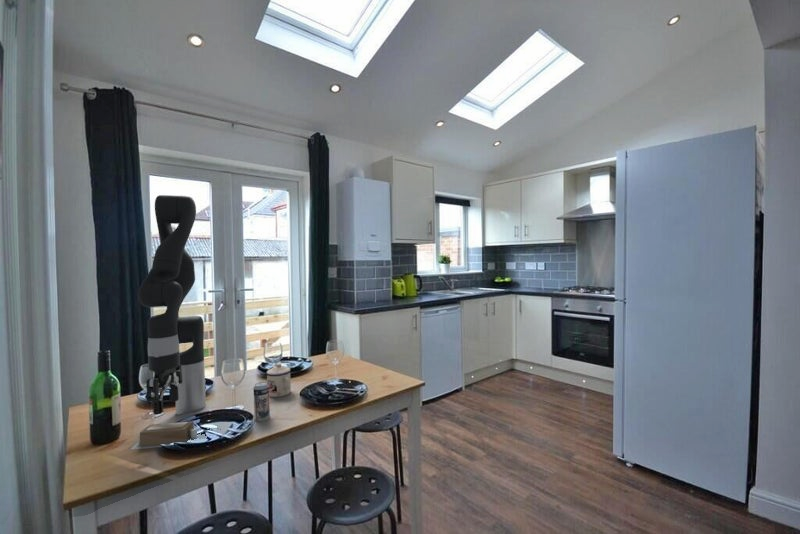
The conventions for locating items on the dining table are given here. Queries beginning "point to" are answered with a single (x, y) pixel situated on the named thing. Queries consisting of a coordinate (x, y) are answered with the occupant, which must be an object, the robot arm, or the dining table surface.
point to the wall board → (219, 425)
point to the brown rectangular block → (166, 433)
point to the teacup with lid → (279, 381)
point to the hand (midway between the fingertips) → (166, 407)
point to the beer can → (261, 401)
